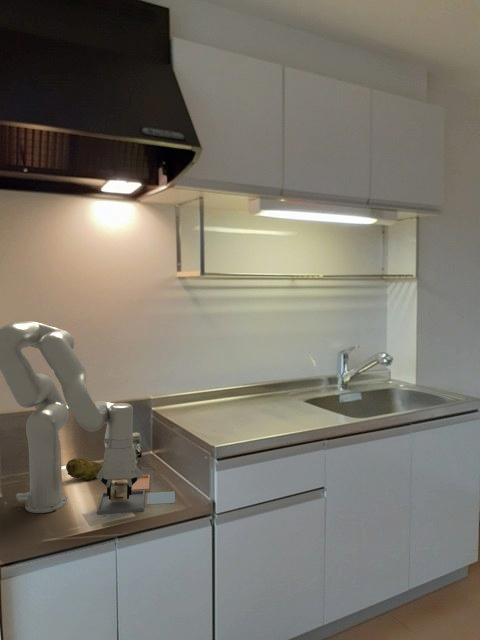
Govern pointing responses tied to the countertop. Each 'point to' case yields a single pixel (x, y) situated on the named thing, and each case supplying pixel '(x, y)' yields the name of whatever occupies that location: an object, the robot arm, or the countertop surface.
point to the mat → (161, 498)
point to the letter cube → (119, 491)
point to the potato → (83, 468)
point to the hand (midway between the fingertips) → (119, 497)
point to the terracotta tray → (140, 483)
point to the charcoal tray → (122, 504)
